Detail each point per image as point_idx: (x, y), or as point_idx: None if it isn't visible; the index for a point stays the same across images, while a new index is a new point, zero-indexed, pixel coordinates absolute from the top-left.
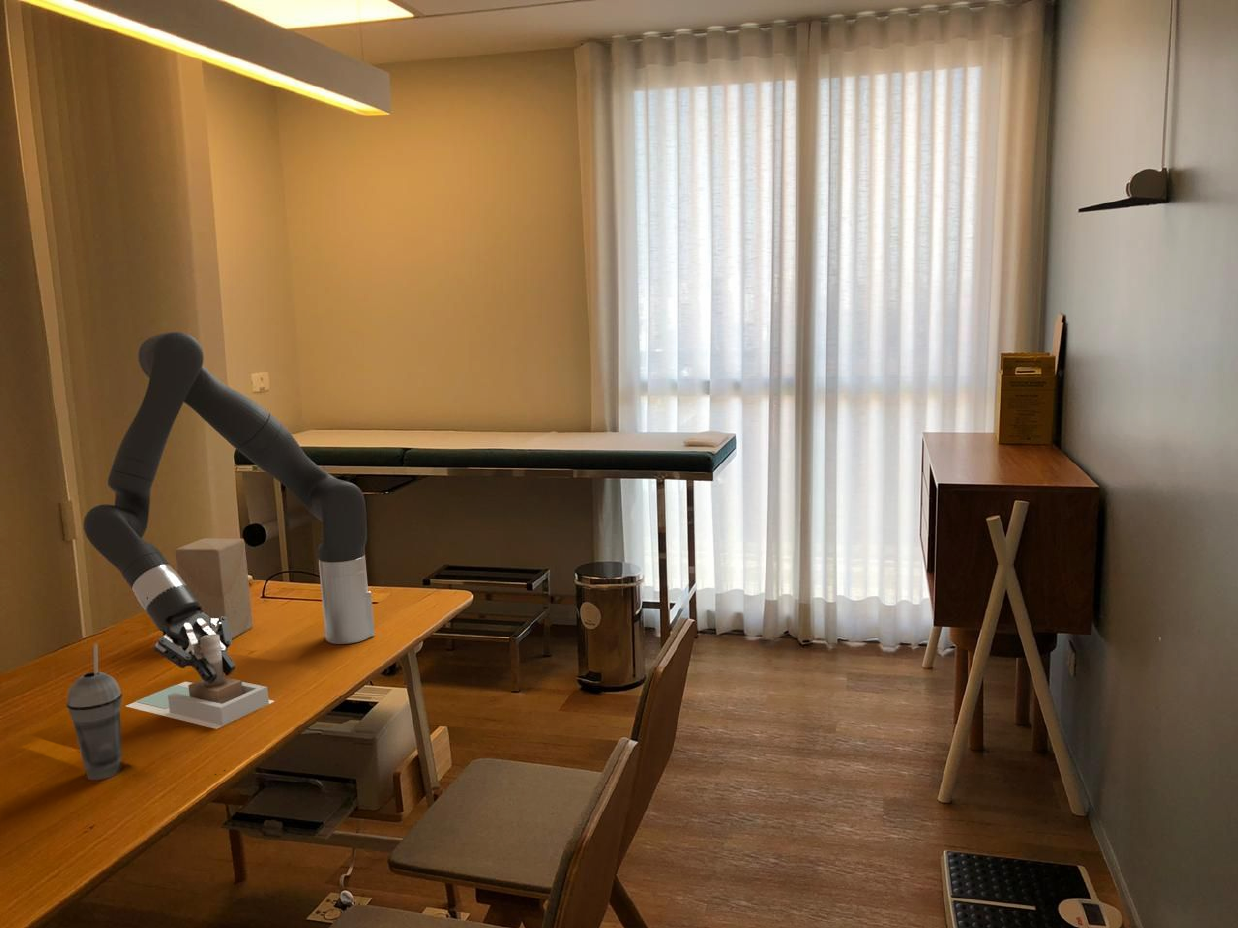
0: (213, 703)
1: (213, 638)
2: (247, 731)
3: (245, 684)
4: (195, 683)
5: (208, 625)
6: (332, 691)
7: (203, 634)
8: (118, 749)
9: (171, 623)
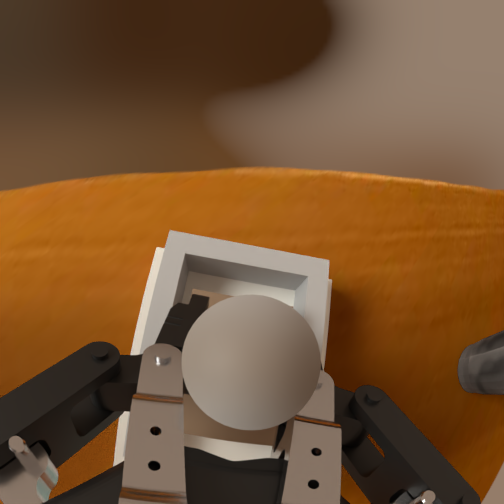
0: (313, 303)
1: (267, 314)
2: (280, 243)
3: (161, 309)
4: (254, 433)
5: (95, 494)
6: (64, 197)
7: (193, 470)
8: (494, 335)
9: None
